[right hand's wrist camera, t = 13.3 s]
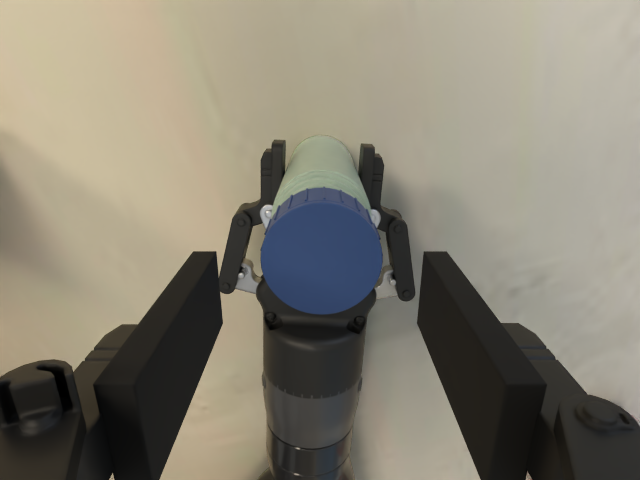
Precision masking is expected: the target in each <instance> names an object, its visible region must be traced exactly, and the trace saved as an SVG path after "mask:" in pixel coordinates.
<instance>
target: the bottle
mask: <svg viewBox="0 0 640 480" xmlns="http://www.w3.org/2000/svg"><path fill="white" fill-rule="evenodd" d="M323 186H324V187H325V188H332V189H337V190H339V191H340V190H342V192H345V193H347V194H349V195H351V196H352V197H354V198H355V197H356V198H357V201H359V202H360V203H361V204H362V205H363V206H364V208H365V209H368V211H369V214H370V217H371V219H372V216H371V207H370V204H369V201H368V198H367V196H366V193H365V191H364V188H363V186H362V183H361V181H360V178H359V176H358V173H357V170H356V168H355V165H354V163H353V160H352V158H351V155H350V153H349V151H348V150H347V148H346V147H345V146H344V144H342V143H341V142H340V141H339V140H337V139H335V138H333V137H330V136H326V135H317V136H312V137H309V138H307V139H305V140H304V141H302V142H301V143H300V144H299V145H298V146H297V147H296V149H295V150H294V152H293V154H292V157H291V159H290V162H289V164H288V167H287V169H286V172H285V175H284V177H283V180H282V182H281V185H280V188H279V190H278V193H277V195H276V198H275V200H274V204H273V207H272V213H271V219H272V217H273V215H274V213H275V212H276V210H277V208H278V206H279V205H281V204H282V203H283V202H284V201H286V200H287V199H288V198H290V195H294V194H296V193H298V192H301V191H304V190H306V188H308V189H312V188H323Z"/></svg>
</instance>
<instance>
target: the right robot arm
mask: <svg viewBox="0 0 640 480" xmlns="http://www.w3.org/2000/svg"><path fill="white" fill-rule="evenodd" d="M222 324H223V320H222V309H221V298H220V287H219V276H218V265H217V255H216V252H193V253H192V254H191V255H190V257H189V258H188V259H187V261H186V262H185V263H184V265H183V266H182V267H181V268H180V270H179V271H178V272H177V274H176V275H175V276H174V278H173V279H172V280H171V282H170V283H169V284H168V286H167V287H166V288H165V290H164V291H163V292H162V294H161V295H160V296H159V298H158V299H157V300H156V301H155V303H154V304H153V305H152V307H151V308H150V309H149V311H148V312H147V313H146V315H145V316H144V317H143V319H142V320H141V321H140V323H139V324H122V325H120V326H119V327H117V328H116V329H114V330H113V331H111V332H109V333H108V334H106V335H105V336H104V337H103V338H102V339H101V340H100V342H99V343H98V344H97V345H96V346H95V347H94V351H91V352H90V353H89V355H88V356H87V357H86V358H85V361H83V362H82V363H81V364H80V365H79V366H78V367H77V369H76V370H75V371H74V372H73V370H72V366H71V365H69V364H68V363H67V362H65V361H60V360H43V361H37V362H33V363H30V364H26V365H23V366H21V367H18V368H16V369H14V370H12V371H9V372H8V373H6V374H5V375H3V376H2V377H0V480H109V478H110V476H111V475H112V473H113V475H114V479H115V480H159V479H160V476H161V474H162V472H163V469H164V467H165V464H166V462H167V459H168V457H169V454H170V452H171V449H172V447H173V444H174V442H175V440H176V437H177V435H178V432H179V430H180V427H181V425H182V422H183V420H184V417H185V415H186V413H187V410H188V408H189V405H190V403H191V400H192V398H193V395H194V393H195V390H196V388H197V385H198V383H199V381H200V378H201V376H202V373H203V371H204V368H205V366H206V363H207V361H208V358H209V356H210V353H211V351H212V349H213V346H214V344H215V341H216V339H217V336H218V334H219V331H220V329H221V326H222ZM417 324H418V326H419V329H420V331H421V334H422V336H423V339H424V341H425V344H426V346H427V349H428V351H429V353H430V356H431V358H432V361H433V363H434V366H435V368H436V371H437V373H438V376H439V378H440V381H441V383H442V385H443V388H444V390H445V393H446V395H447V398H448V400H449V403H450V405H451V408H452V410H453V413H454V415H455V417H456V420H457V422H458V425H459V427H460V430H461V432H462V435H463V437H464V440H465V442H466V444H467V447H468V449H469V452H470V454H471V457H472V459H473V462H474V464H475V467H476V469H477V472H478V474H479V476H480V479H481V480H525V479H526V475H527V471H528V472H529V474H530V476H531V478H532V480H640V425H639V424H638V423H637V421H636V420H635V419H634V417H633V416H631V415H630V414H629V413H628V412H626V411H625V410H624V409H623V408H621V407H619V406H618V405H616V404H614V403H612V402H610V401H608V400H606V399H602V398H599V397H596V396H593V395H588V394H587V393H586V392H585V391H584V390H583V389H582V387H581V386H580V385H579V384H578V383H577V382H576V380H575V379H574V378H573V377H572V376H571V375H570V374H569V372H568V371H567V370H566V369H565V368H564V367H563V365H562V364H561V363H560V362H559V361H558V360H556V359H555V356H554V355H553V354H552V353H551V351H550V350H549V349H546V346H545V345H544V343H543V342H542V341H541V340H540V339H539V338H538V336H537V335H536V334H535V333H533V332H532V331H530V330H528V329H527V328H525V327H524V326H522V325H520V324H519V323H500V321H499V320H498V319H497V317H496V316H495V315H494V313H493V312H492V311H491V309H490V308H489V307H488V305H487V304H486V303H485V301H484V300H483V299H482V298H481V296H480V295H479V294H478V292H477V291H476V290H475V288H474V287H473V286H472V284H471V283H470V282H469V280H468V279H467V278H466V276H465V275H464V274H463V272H462V271H461V270H460V268H459V267H458V266H457V265H456V263H455V262H454V261H453V259H452V258H451V257H450V255H449V254H448V253H447V252H424V255H423V265H422V276H421V287H420V298H419V309H418V320H417Z"/></svg>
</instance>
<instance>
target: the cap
mask: <svg viewBox="0 0 640 480" xmlns="http://www.w3.org/2000/svg"><path fill="white" fill-rule="evenodd" d="M265 235H266V236H265V239H264V241H263V244H262V247H261V268H262V272H263V275H264V278H265V280H266V282H267V284H268V286H269V287H270V289H271V290H272V291H273V293H274V294H275V295H276V296H277V297H278V298H279V299H280V300H282V301H283V302H284V303H285V304H287V305H289V306H290V307H292V308H294V309H297V310H299V311H302V312H306V313H311V314H332V313H337V312H341V311H344V310H346V309H349V308H351V307H353V306H354V305H356V304H358V303H359V302H360V301H362V300H363V299H364V298H365V297H366V296H367V295H368V294H369V293H370V292H371V290H372V289H373V288H374V286H375V284H376V283H377V280H378V278H379V276H380V272H381V269H382V256H383V254H382V248H381V244H380V241H379V240H380V236H379V233H378V231H377V228H376V226H375V223H373V222H372V219H371V217H370V214H369V211H368V209H365V208H364V206H363V205H362V204H361V203H360V202H359V201H357V198H356V197H355V198H354V197H352V196H351V195H349V194H347V193H345V192H342V190H340V191H339V190H337V189H332V188H325V187H324V186H323V188H312V189H308V188H306V190H304V191H301V192H298V193H296V194H294V195H290V198H288V199H287V200H286V201H284V202H283V203H282V204H281V205H279V206H278V208H277V210H276V212H275V213H274V215H273V217H272V219H270V220H269V223H268V226H267V228H266V231H265Z"/></svg>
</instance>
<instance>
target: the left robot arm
mask: <svg viewBox="0 0 640 480" xmlns="http://www.w3.org/2000/svg"><path fill="white" fill-rule="evenodd" d="M285 151H286V142H285V140H274V141H273V142H272V149H266V150H265V152H264V153H263V156H262V158H261V199H260V200H258V201H256V202H253V203H244V204H242V205H241V206H240V208H239V209H238V211H237V212H236V214H235V215H234V217H233V219H232V223H231V227H230V232H229V236H228V241H227V245H226V249H225V254H224V258H223V262H222V267H221V271H220V276H219V287H220V292H222V293H224V294H230V293H232V292H233V291H234V290H235V289H238V290H242V291H246V292H250V293H254V294H256V296H257V299H258V301H259V302H260V304H261V306H262V308H263V375H262V385H263V391H264V401H265V407H266V415H267V443H266V444H267V458H268V463H269V468H268V469H267V470H266V471H265V472H264V473H263V474H262V475H261V476H260V477H259V478H258V479H257V480H355V477H354V473H353V469H352V465H351V461H350V449H351V439H352V429H353V420H354V415H355V411H356V408H357V404H358V399H359V392H360V390H361V385H362V376H361V372H362V361H363V352H364V342H365V332H366V322H367V315H368V313H369V311H370V309H371V308H372V307H373V305H374V304H375V302H376V299H381V298H387V297H393V296H398V297H399V299H400V300H402V301H410V300H411V299H413V298H414V296H415V286H414V278H413V270H412V262H411V254H410V246H409V238H408V229H407V225H406V223H405V222H404V220H403V219H402V217H401V215H400V213H399V212H398V211H397V210H394V209H391V210H390V209H387V208H385V207H383V206H381V205H380V200H381V190H382V181H383V171H384V164H383V160H382V157H381V156H380V155H379V154H375V147H374V146H373V145H372V144H361V147H360V159H359V171H358V176H359V178H360V181H361V183H362V186H363V188H364V191H365V193H366V196H367V198H368V201H369V204H370V207H371V216H372V222H373V223H375V226H376V228H377V229H379V230H382V231H384V232H385V233H386V240H387V247H388V254H389V261H390V265H386V266H385V267H383V268H382V270H381V276H380V278H379V280H377V283H376V284H375V286H374V288H373V289H372V290H371V292H370V293H369V294H368V295H367V296H366V297H365V298H364V299H363V300H362V301H360V302H359V303H358V304H356V305H354V306H353V307H351V308H349V309H346V310H344V311H341V312H337V313H332V314H311V313H306V312H302V311H299V310H297V309H294V308H292V307H290V306H289V305H287V304H285V303H284V302H283V301H282V300H280V299H279V298H278V297H277V296H276V295H275V294H274V293H273V291H272V290H271V289H270V287H269V286H268V284H267V282H266V280H265V278H264V275H262V276H261V277H258V276H257V275H256V274H255V273H254V270H253V268H254V266H253V263H252V261H251V260H249V259H246V258H245V256H246V252H247V248H248V244H249V240H250V236H251V232H252V228H253V226H255V225H258V224H262V223H263V224H264V227H265V230H266V228H267V226H268V223H269V220H270V219H271V213H272V207H273V204H274V200H275V198H276V195H277V193H278V190H279V188H280V185H281V182H282V180H283V177H284V175H285Z"/></svg>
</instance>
